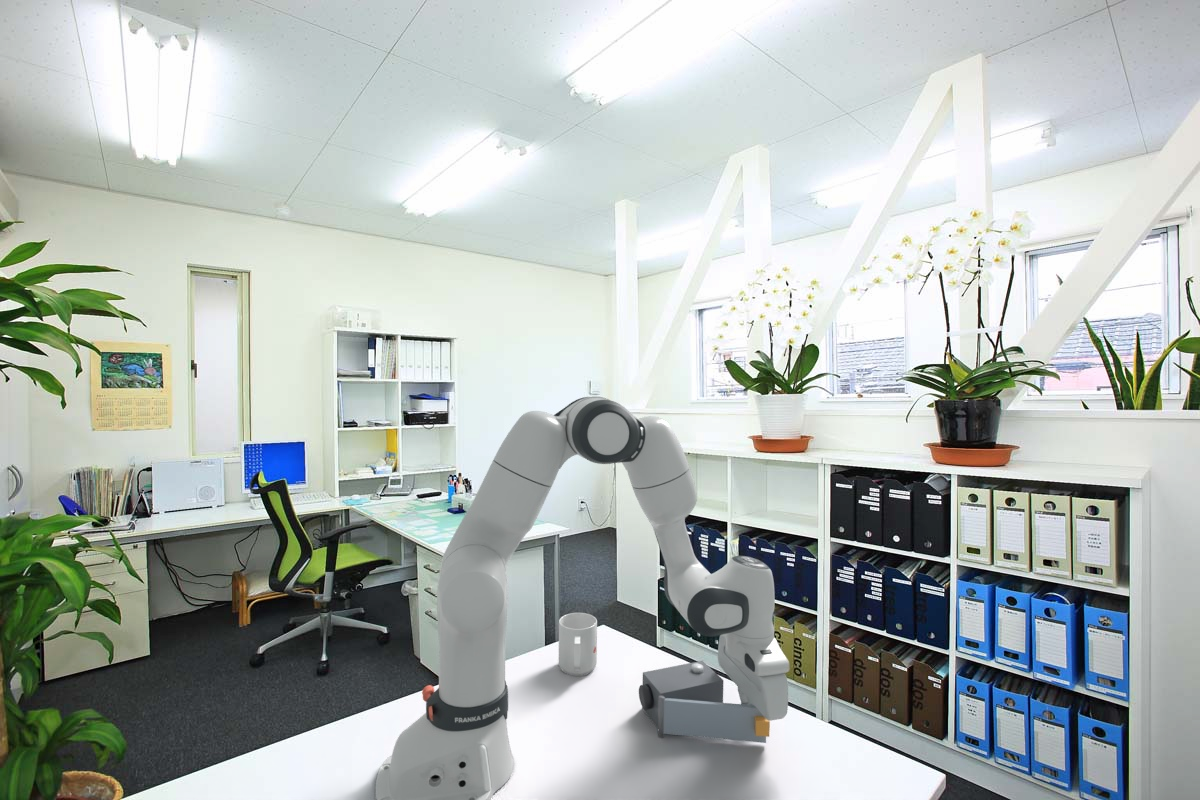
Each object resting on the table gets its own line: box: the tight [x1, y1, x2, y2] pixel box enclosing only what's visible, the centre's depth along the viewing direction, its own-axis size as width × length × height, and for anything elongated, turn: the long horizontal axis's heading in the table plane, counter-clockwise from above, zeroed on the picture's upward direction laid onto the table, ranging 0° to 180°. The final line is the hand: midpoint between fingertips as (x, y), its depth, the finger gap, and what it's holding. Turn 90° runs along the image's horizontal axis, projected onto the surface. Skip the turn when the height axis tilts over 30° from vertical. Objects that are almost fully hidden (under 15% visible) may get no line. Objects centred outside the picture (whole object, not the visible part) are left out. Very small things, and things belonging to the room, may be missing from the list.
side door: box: [657, 696, 771, 744], centre depth 101 cm, size 20×2×7 cm, turn 83°
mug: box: [558, 612, 598, 677], centre depth 126 cm, size 12×9×11 cm
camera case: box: [638, 660, 724, 730], centre depth 110 cm, size 15×8×8 cm, turn 111°
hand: (748, 714), depth 104 cm, fingers closed
